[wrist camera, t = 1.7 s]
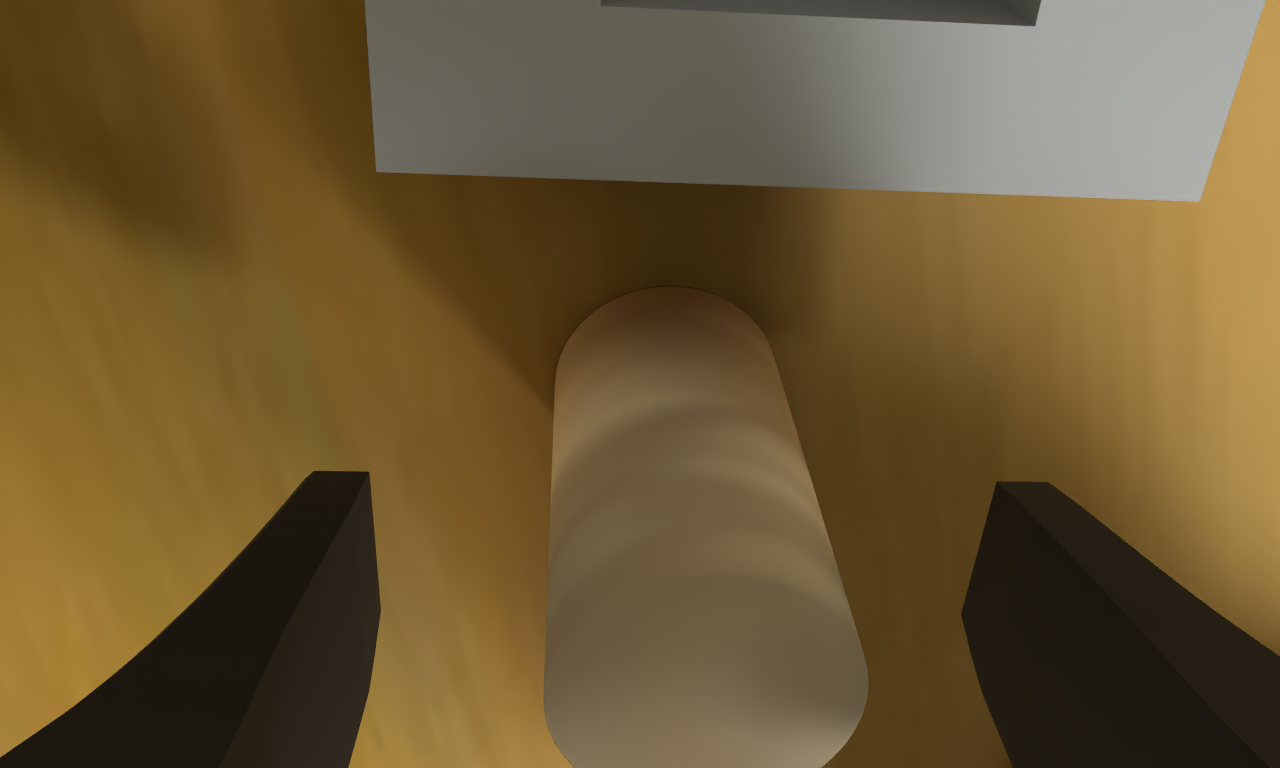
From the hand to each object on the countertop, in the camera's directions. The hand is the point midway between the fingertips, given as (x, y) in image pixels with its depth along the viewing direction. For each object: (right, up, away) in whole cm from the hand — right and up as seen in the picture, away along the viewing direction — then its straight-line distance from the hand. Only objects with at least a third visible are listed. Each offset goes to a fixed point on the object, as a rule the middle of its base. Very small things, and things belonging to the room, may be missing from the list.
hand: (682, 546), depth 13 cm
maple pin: (0, +2, +3) cm, 4 cm away
